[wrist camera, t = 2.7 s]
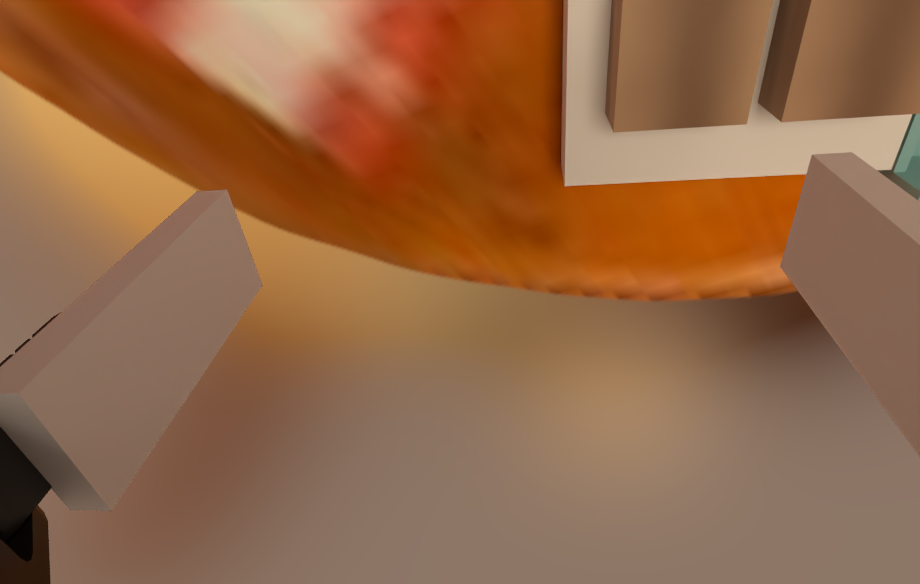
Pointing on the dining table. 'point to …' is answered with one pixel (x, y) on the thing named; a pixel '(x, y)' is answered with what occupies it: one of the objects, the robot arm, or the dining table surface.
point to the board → (692, 149)
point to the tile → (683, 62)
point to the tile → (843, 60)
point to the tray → (908, 161)
